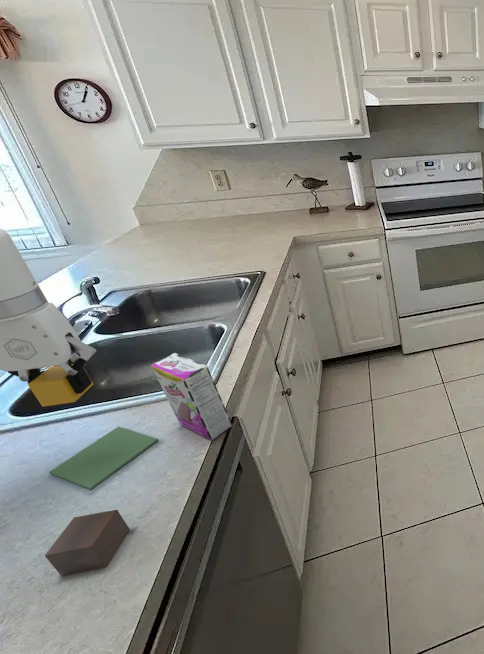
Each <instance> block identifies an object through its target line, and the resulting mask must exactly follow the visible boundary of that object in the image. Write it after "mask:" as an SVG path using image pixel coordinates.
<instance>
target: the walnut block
mask: <svg viewBox="0 0 484 654" xmlns="http://www.w3.org/2000/svg"><path fill="white" fill-rule="evenodd" d="M130 530H131V529H130V527H129V525H128V524H127V522H126V521H125V519H124V517H123V516H122V515H121V513H120V512H119V510H118V509H113V510H107V511H102V512H96V513H91V514H86V515H80V516H74V517H73V518H72V519H71V520H70V522H69V523H68V525H67V526H66V527H65V529H64V530H63V531H62V532H61V534H60V535H59V537H58V538H56V540H55V541H54V543H53V544H52V545H51V547H50V548H49V549H48V551H46V553H45V555H44V557H45V558H46V559H47V561H48V562H49V563H50V564H51V565H52V566H53V568H54V569H55V570H56V571H57V573H58V574H59V575H60V576H61V577H63V576H67V575H72V574H77V573H82V572H87V571H92V570H97V569H101V568H107V567H108V565H109V563H110V562H111V561H112V559H113V557H114V556H115V554H116V552H117V551H118V549H119V548H120V546H121V545H122V544H123V541H124V540H125V538H126V536H127V535H128V533H129V531H130Z"/></svg>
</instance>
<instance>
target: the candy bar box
mask: <svg viewBox="0 0 484 654" xmlns="http://www.w3.org/2000/svg"><path fill="white" fill-rule="evenodd" d="M150 368H151V371H152V372H153V375H154V376H155V378H156V380H157V382H158V384H159V386H160V387H161V389H162V391H163V393H164V395H165V398H166V399H167V401H168V403H169V405H170V407H171V410H172V411H173V413H174V415H175V417H176V419H177V422H178V423H179V426H181V427H184V428H186V429H187V430H190V431H192V432H194V433H196V434H198V435H200V436H201V437H204V438H206V439H208V440H210V441H213V440H215V439H217V438H218V437H219V436H221V435H222V434H223V433H225V432H226V431H228V429H230V428H232V427H233V423H232V420H231V418H230V416H229V413H228V411H227V408H226V406H225V404H224V402H223V398H222V397H221V395H220V392H219V389H218V388H217V385H216V383H215V381H214V378H213V376H212V374H211V372H210V369H209V366H208V365H206V364H203V363H201V362H199V361H196V360H194V359H192V358H189V357H186V356H184V355H181V354H178V353H176V352H173V353H171V354H170V355H168V356H165V357H163V358H161V359H159V360H157V361H156V362H154V363H152V364H151V365H150Z"/></svg>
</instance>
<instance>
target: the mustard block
mask: <svg viewBox="0 0 484 654" xmlns="http://www.w3.org/2000/svg"><path fill="white" fill-rule="evenodd" d="M70 364H71V365H73V364H74V363H70ZM84 369H85V371H86V373H87V374H88V372H87V370H86V368H85V367H84ZM43 371H44V370H43ZM68 375H69V374H68V373H67V372H66V371H64V370H63V369H62V368H61V367H60V366H59V365H58V366H51V367H47V368H46V369H45V371H44V372H43V373H42V374H40V375H39V376H38V377H37V378H35V379H34V380H33V381H32V382H30V383H29V384H28V383H27V386H28V387H29V389H30V390H31V392H32V394H33V395H34V396H35V398H36V399H37V401H38V402H39V404H40V406H41V407H42V408H43V407H51V406H56V405H64V404H71V403H76V402H77V401H78V400H79V399H80V398H81V397H82V396H83V395H84V394H85V393H86V392H87V391H89V389H90V388H91V387H92V386H94V382H93V381H92V379H91V376H90V375H89V374H88V376H89V378H90V380H91V381H92V383H91V385H90V386H89V387H88V388H87V389H85V390H84V391H83V392H82V393H80V394H76V393H75V391H74V390H73V388H72V386H71V385H70V383H69V381H68V380H67V378H66V377H67V376H68Z"/></svg>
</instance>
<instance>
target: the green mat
mask: <svg viewBox="0 0 484 654" xmlns="http://www.w3.org/2000/svg"><path fill="white" fill-rule="evenodd" d="M158 442H159V440H158V439H157V438H155V437H152V436H149V435H146V434H143V433H139V432H137V431H134V430H130V429H128V428H124V427H121V426H117V427H115V428H113V429H112V430H111V431H109V432H108V433H106V434H105V435H103V436H102V437H100V438H98V439H97V440H96V441H94V442H93V443H90V444H89V445H88V446H86V447H85V448H83V449H81V450H80V451H79V452H77V453H75V454H74V455H72V456H71V457H70V458H67V459H66V460H65V461H63V462H62V463H61V464H59V465H58V466H56V467H54V468H52V469H51V470H49V471H48V473H49V474H50V475H52V476H55V477H57V478H60V479H63V480H65V481H67V482H70V483H73V484H75V485H77V486H80V487H82V488H85V489H87V490H89V491H92V490H93V489H94V488H96V487H97V486H99V485H100V484H102V483H103V482H104V481H105V480H108V478H110V477H111V476H112V475H114V474H116V473H117V472H118V471H119V470H121V469H122V468H123V467H124V466H127V464H128V463H131V461H133V460H134V459H135V458H137V457H138V456H140V455H141V454H142V453H144V452H145V451H146V450H148V449H149V448H151V447H152V446H153V445H155V444H156V443H158Z"/></svg>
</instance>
